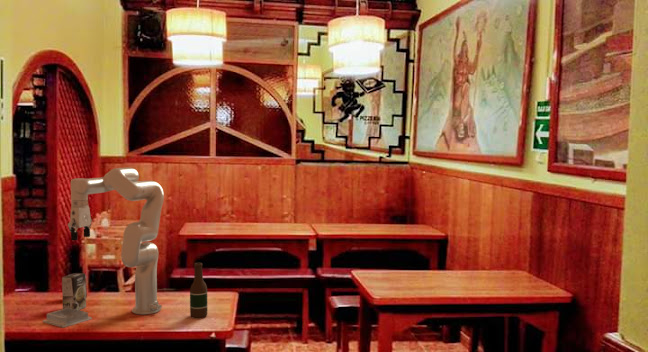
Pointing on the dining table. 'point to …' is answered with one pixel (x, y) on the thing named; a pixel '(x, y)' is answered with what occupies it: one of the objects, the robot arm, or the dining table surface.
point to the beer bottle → (198, 294)
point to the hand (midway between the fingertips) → (80, 238)
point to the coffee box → (74, 291)
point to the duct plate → (66, 317)
